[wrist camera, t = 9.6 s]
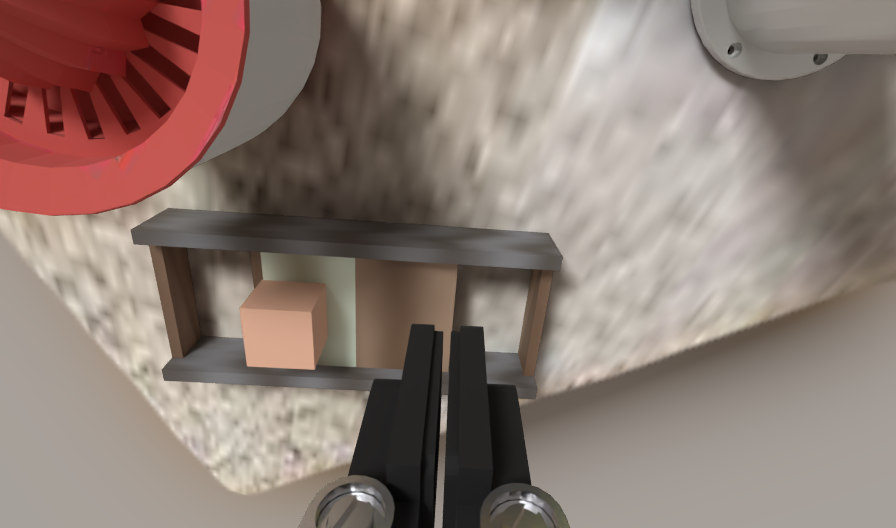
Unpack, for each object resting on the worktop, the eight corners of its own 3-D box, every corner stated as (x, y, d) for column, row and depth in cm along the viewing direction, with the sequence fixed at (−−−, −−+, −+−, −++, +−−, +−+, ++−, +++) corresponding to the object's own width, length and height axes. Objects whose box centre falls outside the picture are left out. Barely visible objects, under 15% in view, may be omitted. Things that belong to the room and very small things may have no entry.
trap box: (548, 233, 35) (562, 257, 31) (525, 363, 40) (535, 399, 36) (168, 208, 34) (130, 229, 30) (193, 345, 39) (164, 380, 35)
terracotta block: (325, 283, 33) (311, 312, 29) (327, 336, 35) (314, 369, 31) (261, 279, 33) (239, 308, 29) (267, 333, 35) (247, 366, 31)
